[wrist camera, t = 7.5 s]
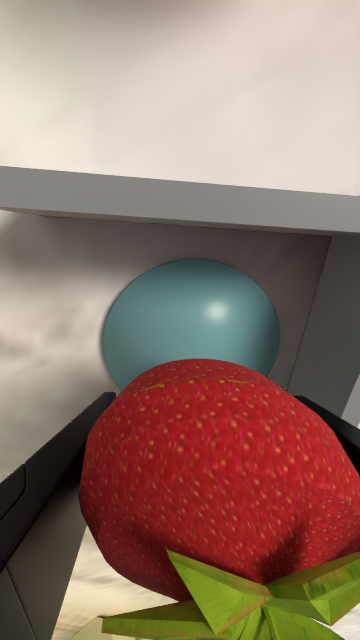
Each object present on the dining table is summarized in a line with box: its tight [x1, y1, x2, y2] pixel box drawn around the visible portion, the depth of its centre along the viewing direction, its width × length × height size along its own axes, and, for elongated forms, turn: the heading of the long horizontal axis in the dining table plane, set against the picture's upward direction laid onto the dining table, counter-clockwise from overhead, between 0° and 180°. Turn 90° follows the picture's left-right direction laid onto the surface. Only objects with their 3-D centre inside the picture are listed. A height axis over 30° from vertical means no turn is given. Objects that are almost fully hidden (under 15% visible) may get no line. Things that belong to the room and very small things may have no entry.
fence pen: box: [0, 166, 360, 427], centre depth 11 cm, size 15×15×4 cm
